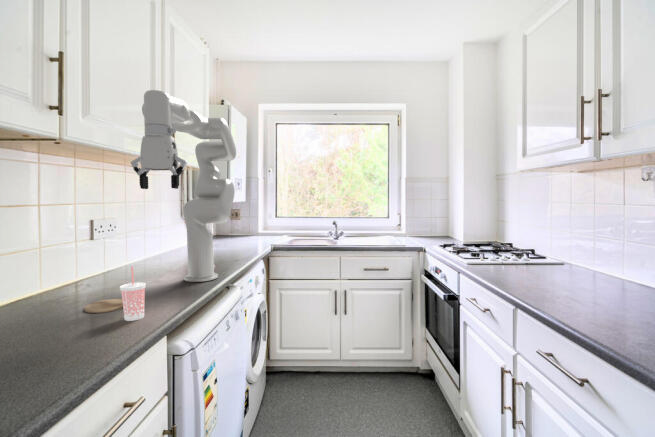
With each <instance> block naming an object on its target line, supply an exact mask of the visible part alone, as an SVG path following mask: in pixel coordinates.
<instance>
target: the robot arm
mask: <svg viewBox="0 0 655 437" xmlns="http://www.w3.org/2000/svg"><path fill="white" fill-rule="evenodd" d="M141 111H142V116H143V118H144V119H143V123H144V135H143V136H142V138H141V143H140V153H139V156H138V157H137V158H135V159H133V160H131V161H130V164H131V167H132V168H133V171H134V172H136V174H137V176H139V186H140V190H141V189H142V190H148V189H149V176H147V175H148V173H149V172H150V171H170V173H172V174H171V176H170V178H171V179H170V181H171V182H170V185H171V188H172V189H176V190H178V189H179V186H180V176H181V175H182V173H183V172H184V171H185V169H186V167H187V164H188V161H187V160H185V159H183V158H182V157H180V156H179V153H178V148H177V147H178V146H177V142H176V138H175V137H173V134H176V133H177V132H180V133H186V134H188V135H190V136H192V137H195V138H196V139H199V140H206V141H201V142H199V143H197V144H196V145H195V150H194V151H195V152H194V153H195V157H196V158H195V159H196V161H197V165H198V168H199V174H198V177H197V180H196V183H195V187H194V190H193V195H194V198H195V199H190V200H188V201H186V202H185V203H184V206H183V210H182V211H183V212H182V214H183V218H184V220H185V226H186V227H185V229H186V239H187V241H186V244H187V267H188V268H187V270H188V272H187V273H188V274H187V275H185V276H184V277H183V279H184V281H185V282H189V283H200V282H201V283H203V282H209V281H213V280H215V279H218V277H219V274H218V273H217V272H215V271H214V269H216V265H215V264H214V241H213V240H214V236H213V232H212V230H211V228H210V226H208V225H209V224H224V223H226V222H228V221H229V218H230V216H231V212H232V207H233V202H234V200H235V190H236V189H235V186H234V183H233V182H232V180H230V179H229V178H221V172H220V170H219V168H218V167H217V166H216V165H215V164H214V163H213V162H230V161H233V160H235V159H236V156H237V148H236V144H235V141H234V137H233V135H232V132H231V129H230V126H229V124H228V123H227V121H226V120H225V119H224V118H222V117H204V116H202V115H201V114H200V113H198V112H196V111H194V110H191V109H190V107H189V106H188V104H187V103H186V102H185V101H184V100H182V99H180V98H176V97H174V96H170V94H169V93H167V92H165V91H162V90H158V89H150V90H146V91H145V92H144V94H143V104H142V106H141ZM179 163H180V164H179ZM139 164H140V166H139Z"/></svg>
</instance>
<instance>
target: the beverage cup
mask: <svg viewBox="0 0 655 437" xmlns="http://www.w3.org/2000/svg"><path fill="white" fill-rule="evenodd" d="M130 270H131V271H130V272H131V273H130V274H131V282H129V283H125V284H122V285H120V286H119V291H120V293H121V299H122V302H123V308H122V310H123V318H124V321H127V322H130V321H131V322H132V321H137V320H142V319H143V318H144V317H145V302H146V301H145V297H146V296H145V295H146V294H145V292H146V289H145V288H146V287H147V286H146V285H147V283H145V282H139V281H138V282H135V278H134V275H135V274H134V266H130Z"/></svg>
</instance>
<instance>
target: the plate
mask: <svg viewBox="0 0 655 437" xmlns="http://www.w3.org/2000/svg"><path fill="white" fill-rule="evenodd" d="M121 309H123V302H122V298H110V299H108V298H107V299H101V300H98V301H95V302H92V303H89V304H86V305H85V306H84V312H86V313H89V314H101V313H109V312H114V311H118V310H121Z"/></svg>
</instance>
